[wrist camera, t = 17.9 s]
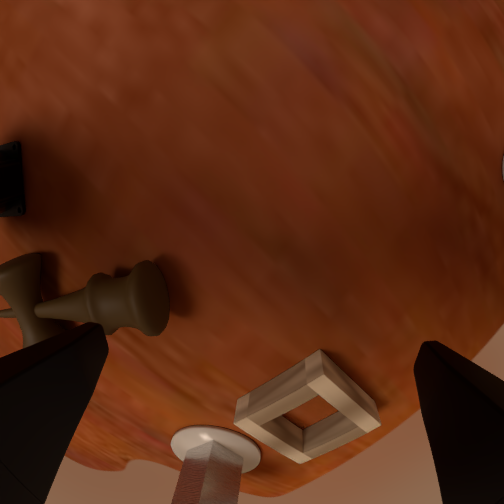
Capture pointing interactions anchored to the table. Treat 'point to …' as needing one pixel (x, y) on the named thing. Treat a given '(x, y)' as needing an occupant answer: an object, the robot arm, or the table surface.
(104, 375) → the table surface
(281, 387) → the collar
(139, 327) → the kendama
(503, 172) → the supplement bottle
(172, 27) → the table surface
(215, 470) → the steel peg
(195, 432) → the coaster
